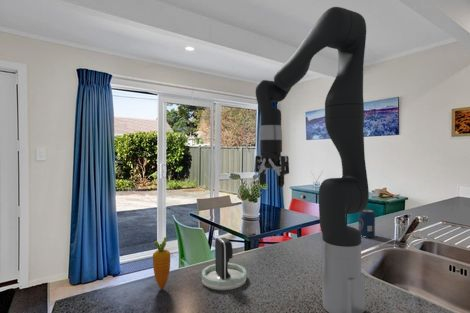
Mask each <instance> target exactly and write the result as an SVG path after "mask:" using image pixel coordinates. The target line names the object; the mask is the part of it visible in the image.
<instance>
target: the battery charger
mask: <svg viewBox="0 0 470 313" xmlns="http://www.w3.org/2000/svg"><path fill="white" fill-rule="evenodd" d="M214 243H215V244H214V249H215V250H214V253H215V254H214V255H215V256H214V257H215V260H214V261H215V264H216V273H217V274H218V275H219V276H220V277H221V278H222V279H228V278H230V277H231V275H230V274H229V273H228V269H227V267H228V263H229V262H230V259H233V256H234V255H233V253H234V252H233V244H232V242H231V240H229V239H227V237H217V238H215V240H214Z"/></svg>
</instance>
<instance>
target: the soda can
mask: <svg viewBox="0 0 470 313" xmlns="http://www.w3.org/2000/svg"><path fill="white" fill-rule="evenodd" d="M358 230H359V231H360V233H361V235H362V236H366V237H372V238H374V237H375V235H376V214H375V213H374V210H373V209H367V208H365V209H364V210H363V211H362V212H359V213H358ZM373 236H374V237H373Z"/></svg>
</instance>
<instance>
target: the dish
mask: <svg viewBox="0 0 470 313" xmlns="http://www.w3.org/2000/svg"><path fill="white" fill-rule="evenodd" d="M227 269H228V273H229V274H230V275H231V277H230V278H228V279H222V278H221V277H220V276H219V275H218V274H217V273H216V263H213V264H210V265H207V266H206V267H205V268H203V269H202V270H201V283H202V284H203V285H204V287H207V288H209V289H211V290H217V291H228V290H235V289H237V288H238V289H239V288H240V287H242V286H244V284H246V282H247V277H248V272H247V270H246V268H245V267H244V266H242V265H241V264H240V265H239V264H238V263H231V262H228V267H227Z"/></svg>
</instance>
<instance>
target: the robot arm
mask: <svg viewBox="0 0 470 313" xmlns="http://www.w3.org/2000/svg"><path fill="white" fill-rule="evenodd" d="M366 39H367V23H366V20H365V18H364V16H363V15H362V14H361V13H359V12H356V11H353V10H350V9H347V8H344V7H340V6H332V7H330V8H328V9H327V10H325V11H324V12H323V13H322V14H321V16H320V17H319V18H318V19H317V20H316V22H315V23H314V24H313V25H312V28H311V29H310V31H309V32H308V33H307V35H305V37H304V39H303V40H302V41H301V43H300V44H299V46H298V47H297V49H296V50H295V52H294V53H293V54H292V55H291V56H290V58H289V59H287V61H285V63H284V64H283V65H281V66H280V67H279V69H277V71H276V72H275V73H274V76H273V80H267V79H264V80H263V79H262V80H260V81H259V82H258V83H257V85H256V88H255V98H256V101H257V106H258V108H259V109H258V110H259V113H260V130H259V131H260V132H259V138H260V140H259V145H260V148H259V149H260V150H259V151H260V153H261V155H256V156H255V161H254V162H255V164H254V166H255V167H254V172H255V173H258V174H259V184H260V185H261V186H265V185H266V184H267V177H266V176H267V174H266V173H267V171H268V170H269V169H273V171H275V172H276V174H277V176H276V180H277V181H276V182H277V183H276V184H277V185H276V186H277V187H278V188H283V187H284V185H285V176H286V175H288V174H290V164H289V162H290V161H289V160H290V159H289V156H288V155H282V154H281V153H282V152H283V130H282V112H281V110H280V109H279V108H277V107H274V106H273V104H272V103H280V102H281V101H284V100H285V99H286V98H287V95H288V94H289V92H290V91H291V89H292V87H294V86H295V85H296V84H298V83H299V82H300V81H301V80H302V79H303V78H305V76H306V75H307V73H308V71H309V69H310V65H311V63H312V59H313V58H314V56H315V55H317V53H319V52H321V51H322V50H324V49H325V48H329V49H334V50H337V53H338V54H337V55H338V66H337V67H338V68H337V73H336V76H335V79H334V81H333V82H332V84H331V86H330V88H329V90H328V92H327V94H326V97H325V101H324V124H325V129H326V132H327V134H328V136H329V138H330V140H331V141H332V143H333V145H334V146H335V148H336V150H337V153H338V155H339V157H340V163H341V173H342V177H331V178H326V179H324V180H323V181H322V182H321V184H320V185H319V188H318V212H319V214H318V216H319V226H320V230H321V235H322V237H321V238H322V307H323V309H324V310H325V311H326V312H328V313H365V311H366V297H365V296H366V290H365V289H366V286H365V285H366V282H365V280H366V274H365V273H364V272H362V237H361V233H360V231H359V229H358V228H356V227H355V228H354V227H353V226H350V225H348V224H347V218H346V217H347V216H346V215H351V214H359V212H362V211H363V210H364V209H367V206H368V203H369V198H370V197H369V196H370V195H369V193H370V192H369V183H368V182H369V181H368V173H367V166H366V158H365V157H366V156H365V138H364V137H365V136H364V135H365V133H364V131H365V130H364V126H365V122H364V121H365V108H364V104H365V103H364V102H365V101H364V62H365V51H366Z"/></svg>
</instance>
